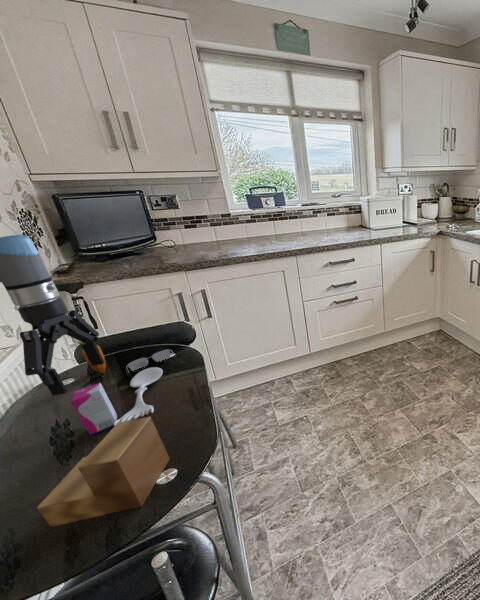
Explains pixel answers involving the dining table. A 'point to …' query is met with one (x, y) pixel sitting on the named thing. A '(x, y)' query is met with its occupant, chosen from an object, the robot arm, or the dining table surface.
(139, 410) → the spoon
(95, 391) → the supplement box
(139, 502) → the wooden stepped block
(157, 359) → the eyeglasses
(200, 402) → the dining table surface
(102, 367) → the carrot
